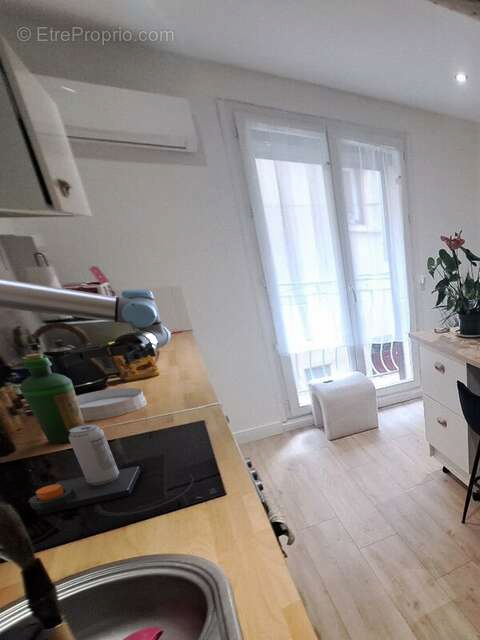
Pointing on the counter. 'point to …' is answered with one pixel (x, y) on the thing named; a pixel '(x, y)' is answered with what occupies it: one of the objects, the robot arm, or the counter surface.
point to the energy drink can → (93, 454)
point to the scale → (87, 492)
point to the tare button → (49, 492)
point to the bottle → (51, 399)
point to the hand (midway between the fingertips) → (94, 361)
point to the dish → (110, 403)
